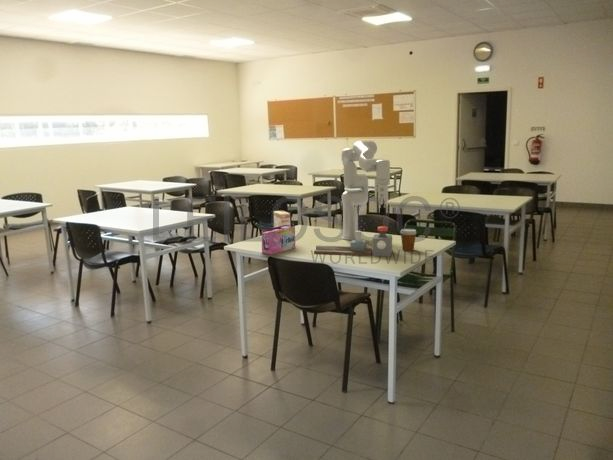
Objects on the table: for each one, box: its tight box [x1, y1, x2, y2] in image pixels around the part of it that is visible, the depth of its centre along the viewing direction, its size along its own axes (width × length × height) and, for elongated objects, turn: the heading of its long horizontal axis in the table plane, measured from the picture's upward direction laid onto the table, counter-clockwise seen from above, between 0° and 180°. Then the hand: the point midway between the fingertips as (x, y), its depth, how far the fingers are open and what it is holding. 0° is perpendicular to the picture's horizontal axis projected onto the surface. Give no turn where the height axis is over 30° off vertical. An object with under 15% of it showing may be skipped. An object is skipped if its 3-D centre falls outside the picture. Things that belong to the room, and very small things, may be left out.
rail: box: [313, 244, 373, 256], centre depth 300 cm, size 12×33×4 cm, turn 76°
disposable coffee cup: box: [399, 228, 417, 252], centre depth 302 cm, size 10×10×12 cm
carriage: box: [349, 230, 367, 251], centre depth 297 cm, size 7×8×11 cm
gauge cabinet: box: [372, 233, 393, 257], centre depth 294 cm, size 12×10×10 cm
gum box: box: [261, 225, 296, 255], centre depth 308 cm, size 24×8×14 cm, turn 142°
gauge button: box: [377, 225, 389, 238], centre depth 293 cm, size 6×6×9 cm
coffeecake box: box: [273, 210, 291, 228], centre depth 332 cm, size 15×7×20 cm, turn 20°
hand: (382, 213), depth 291 cm, fingers closed
